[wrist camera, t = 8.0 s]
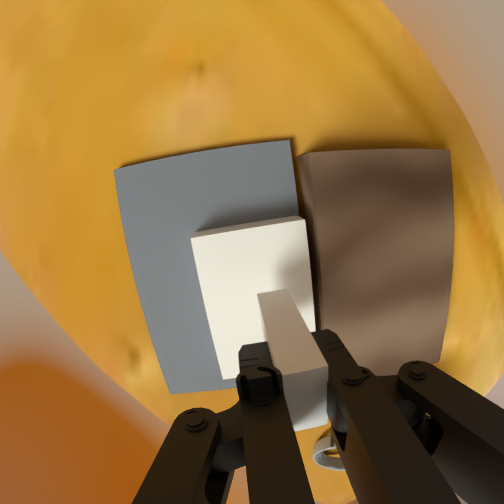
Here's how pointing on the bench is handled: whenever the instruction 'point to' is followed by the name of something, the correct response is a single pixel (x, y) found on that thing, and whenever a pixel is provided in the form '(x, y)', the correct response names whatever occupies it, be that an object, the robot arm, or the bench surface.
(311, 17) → the bench surface
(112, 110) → the bench surface
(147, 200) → the mat
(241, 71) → the bench surface
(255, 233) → the white rectangular block
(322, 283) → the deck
